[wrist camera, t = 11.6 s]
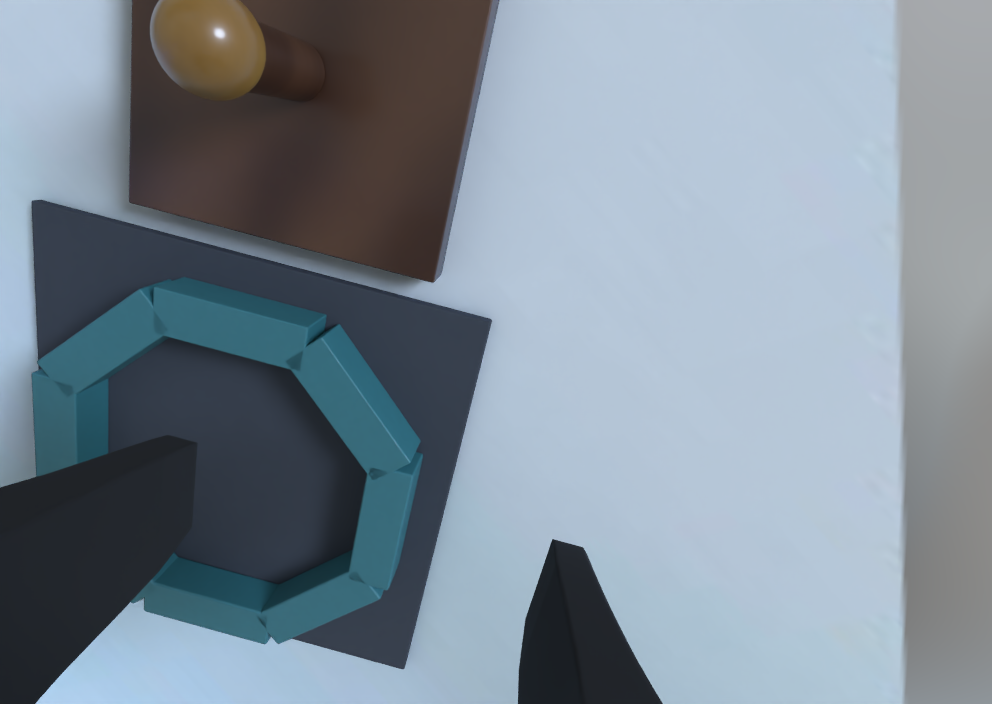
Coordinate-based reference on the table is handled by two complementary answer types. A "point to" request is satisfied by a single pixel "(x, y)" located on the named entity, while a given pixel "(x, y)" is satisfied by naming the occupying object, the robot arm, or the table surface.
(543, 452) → the table surface
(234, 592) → the ring
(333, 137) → the peg stand
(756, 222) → the table surface
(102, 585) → the robot arm
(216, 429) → the mat
